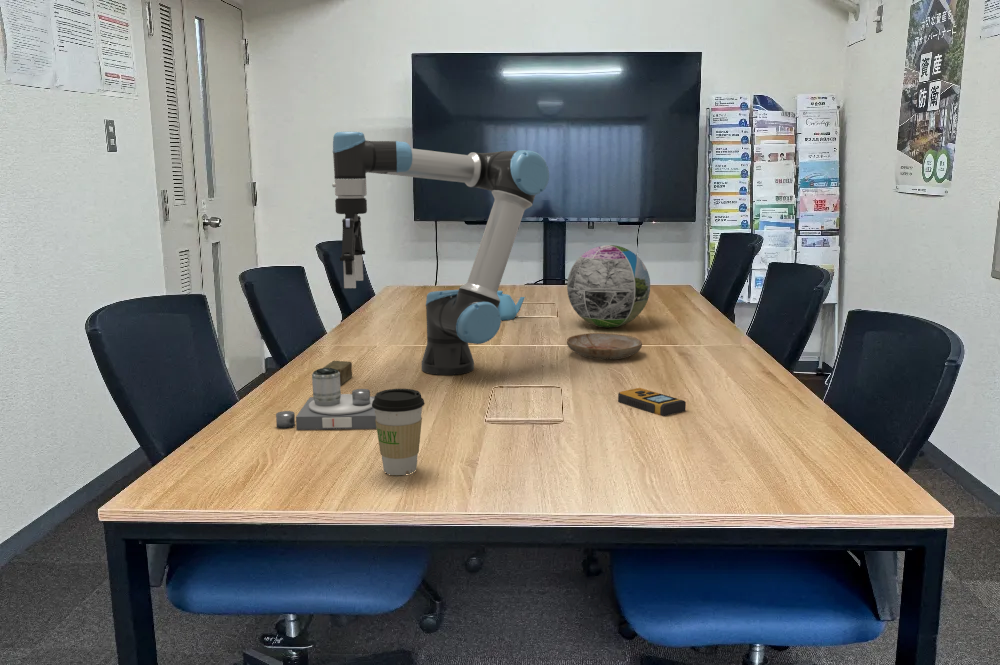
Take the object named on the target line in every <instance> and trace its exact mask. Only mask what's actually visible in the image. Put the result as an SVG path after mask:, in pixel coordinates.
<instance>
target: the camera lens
mask: <svg viewBox="0 0 1000 665" xmlns="http://www.w3.org/2000/svg"><path fill="white" fill-rule="evenodd" d="M311 380H312V397H313V398H314V401H315V404H316V405H318V406H332V405H336V404H338V403H340V397H341V394H342V392H341V391H342V390H341V386H340V372H339V371H338V370H336V369H332V368H330V369H329V368H324V367H322V368H318V369H315V370H314V371H313V372H312V374H311Z"/></svg>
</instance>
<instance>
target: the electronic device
mask: <svg viewBox="0 0 1000 665" xmlns="http://www.w3.org/2000/svg"><path fill="white" fill-rule="evenodd" d="M617 401H618V403H620V404H624V405H627V406H630V407H632V408H637V409H639V410H642V411H645V412H649V413H650V414H655V415H658V416H661V417H666V416H670V415H674V414H679V413H683V412H686V404H687V403H686V401H685V400H683V399H680V398H676V397H673V396H669V395H665V394H662V393H660V392H656V391H652V390H650V389H646V388H642V387H637V388H631V389H627V390H623V391H622V390H621V391H619V392H618V394H617Z"/></svg>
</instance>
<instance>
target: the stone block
mask: <svg viewBox="0 0 1000 665" xmlns="http://www.w3.org/2000/svg"><path fill="white" fill-rule="evenodd" d="M323 368H329V369H330V368H332V369H336V370H338V371H339V372H340V387H341V386H342V385H343V384H345V382H347V381H349V380H350V379H351V378H352V377H353V370H352V369H353V366H352V361H347V360H346V361H344V360H343V361H342V360H332V361H331V362H329V363H328V364H326V365H324V366H323Z"/></svg>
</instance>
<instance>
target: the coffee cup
mask: <svg viewBox="0 0 1000 665" xmlns="http://www.w3.org/2000/svg"><path fill="white" fill-rule="evenodd" d="M374 396H375V398H374V400H373V402H372V407H373V408H374V409H375V415H376V420H375V421H376V428H377V429H376V434H377V439H378V446H379V447H378V448H379V454H380V455H381V461H382V468H383V473H384V472H386V473H387V474H390V475H406V474H410V473H412V472H414V471H415V470H416V471H417V467H418V466H417V465H418V454H419V451H420V442H421V433H422V430H421V429H422V423H423V418H422V412H423V407H424V406H425V404H426V403H425V400H424V398H423V397H422V394H421V392H420V391H418V390H416V389H412V388H390V389H389V388H388V389H385V390H380V391H379V392H377V393H375V395H374ZM416 471H415V472H416ZM415 472H414V473H415ZM387 474H386V475H387ZM390 475H389V476H390ZM410 475H411V474H410ZM406 476H407V475H406Z"/></svg>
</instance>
